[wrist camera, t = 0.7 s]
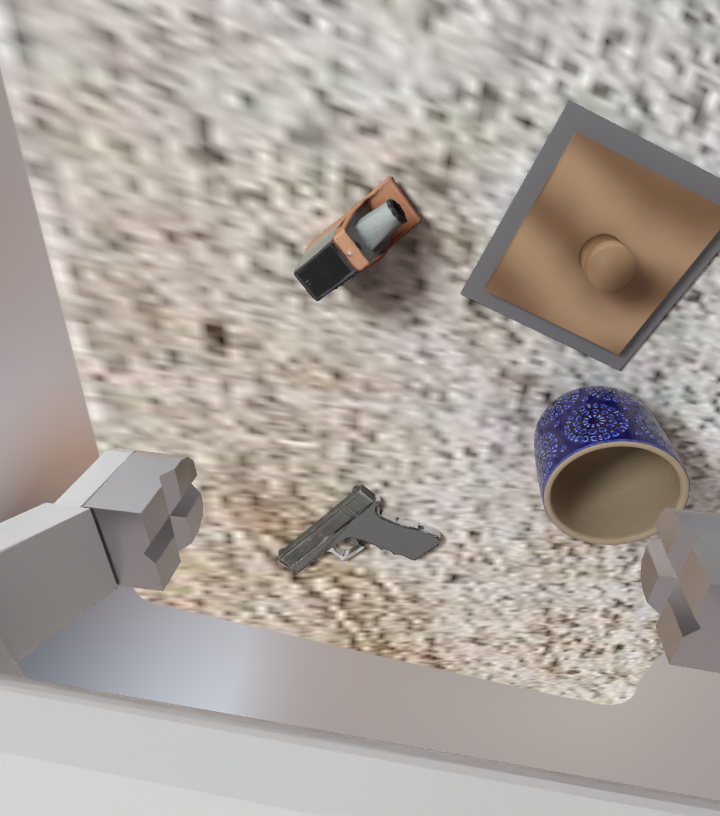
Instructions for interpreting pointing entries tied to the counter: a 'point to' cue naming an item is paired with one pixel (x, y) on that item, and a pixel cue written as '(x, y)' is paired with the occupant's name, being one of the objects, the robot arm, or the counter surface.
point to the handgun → (359, 532)
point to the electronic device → (356, 239)
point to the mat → (554, 147)
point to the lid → (603, 245)
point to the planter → (606, 466)
